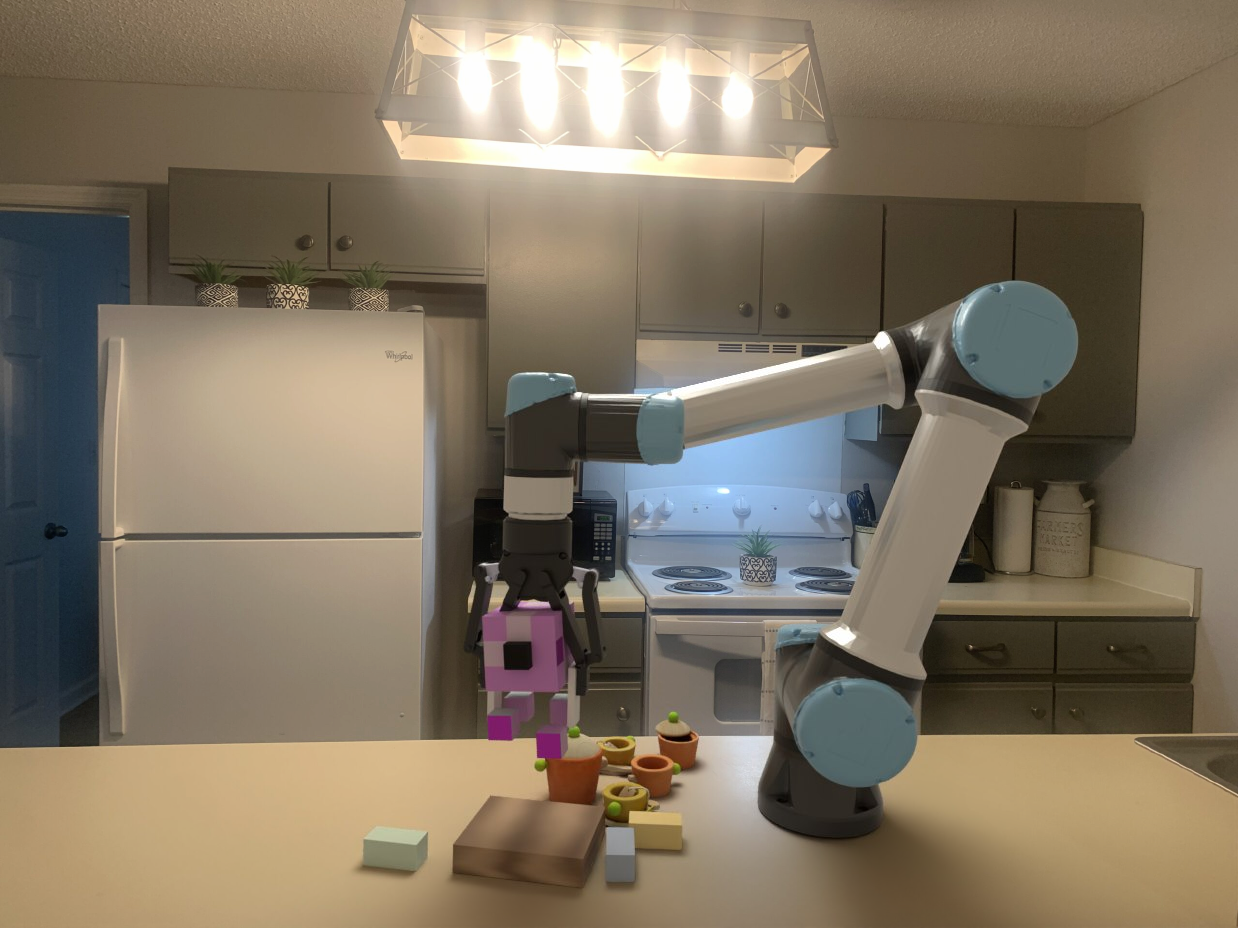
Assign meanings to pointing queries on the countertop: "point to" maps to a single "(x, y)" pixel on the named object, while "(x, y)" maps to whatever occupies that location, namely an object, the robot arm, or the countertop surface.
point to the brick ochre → (656, 829)
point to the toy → (527, 672)
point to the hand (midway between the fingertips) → (533, 719)
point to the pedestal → (531, 841)
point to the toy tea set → (620, 770)
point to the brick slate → (620, 854)
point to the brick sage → (395, 848)
